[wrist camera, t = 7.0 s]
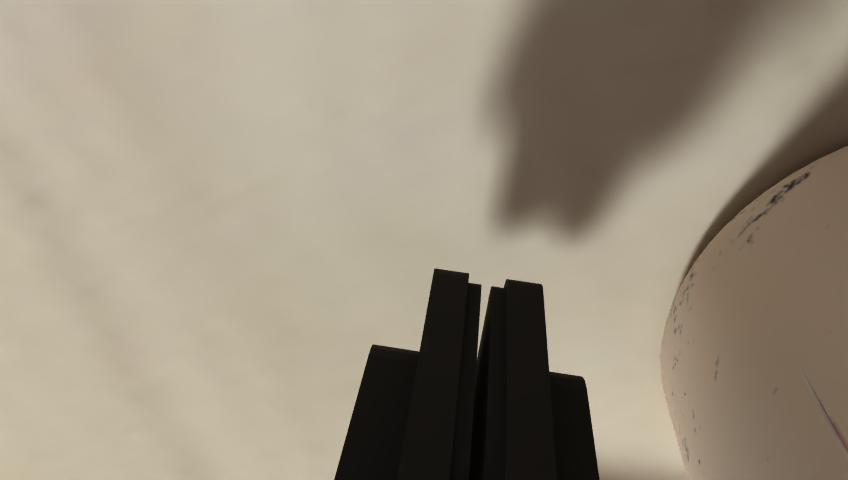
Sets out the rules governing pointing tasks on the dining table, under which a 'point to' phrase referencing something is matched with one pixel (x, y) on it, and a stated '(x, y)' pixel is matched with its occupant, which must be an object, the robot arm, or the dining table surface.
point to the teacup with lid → (766, 337)
